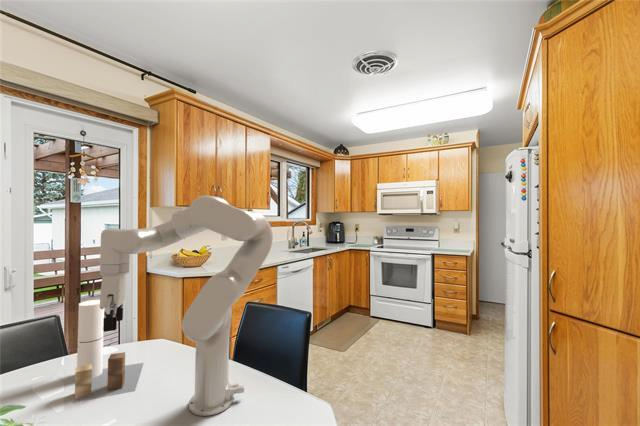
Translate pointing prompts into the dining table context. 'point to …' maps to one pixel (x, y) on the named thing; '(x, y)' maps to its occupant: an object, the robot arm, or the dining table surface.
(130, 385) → the mat
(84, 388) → the oak block
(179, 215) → the robot arm
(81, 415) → the dining table surface
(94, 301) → the cylindrical container
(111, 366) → the walnut block
